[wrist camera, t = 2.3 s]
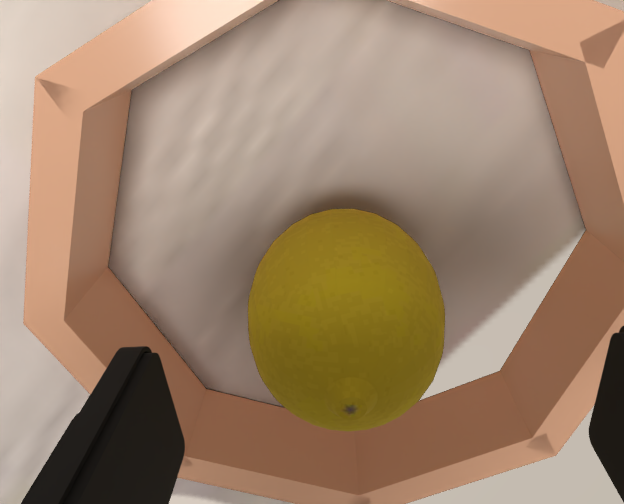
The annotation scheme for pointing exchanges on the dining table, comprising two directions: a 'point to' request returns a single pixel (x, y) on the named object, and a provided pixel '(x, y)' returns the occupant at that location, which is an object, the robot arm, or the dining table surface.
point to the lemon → (346, 320)
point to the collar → (279, 421)
